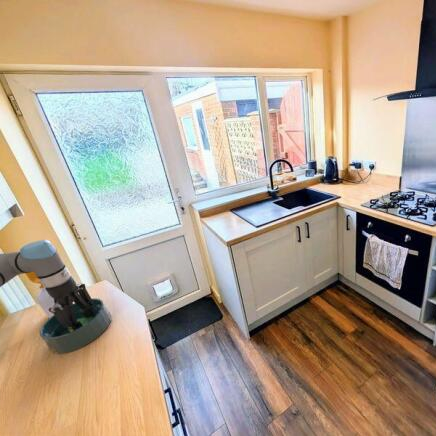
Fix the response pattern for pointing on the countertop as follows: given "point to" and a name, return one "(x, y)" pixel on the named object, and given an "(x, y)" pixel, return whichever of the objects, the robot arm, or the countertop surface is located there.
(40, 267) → the robot arm
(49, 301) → the soap bottle
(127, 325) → the countertop surface
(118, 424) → the countertop surface
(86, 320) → the sponge
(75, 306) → the bowl
